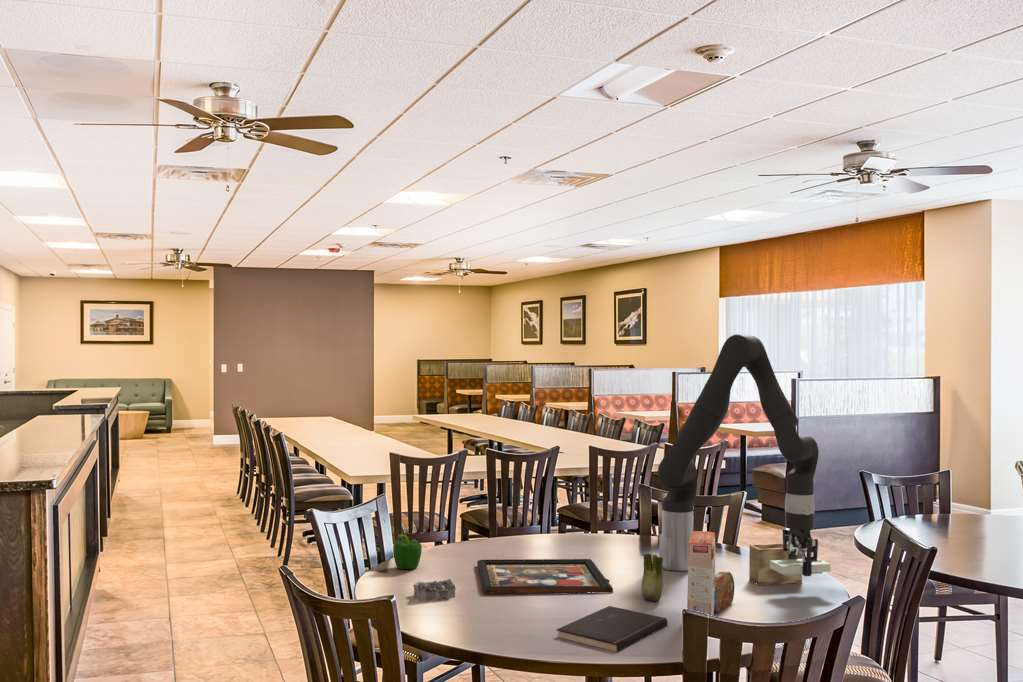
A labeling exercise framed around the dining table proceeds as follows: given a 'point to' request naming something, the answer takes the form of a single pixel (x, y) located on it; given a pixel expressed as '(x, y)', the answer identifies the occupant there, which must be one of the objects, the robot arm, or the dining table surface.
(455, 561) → the dining table surface
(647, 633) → the hardcover book
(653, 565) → the fennel bulb
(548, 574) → the framed icon painting
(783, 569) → the lid
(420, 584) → the egg carton
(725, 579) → the tin
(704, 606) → the cracker box
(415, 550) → the bell pepper
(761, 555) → the oak box
